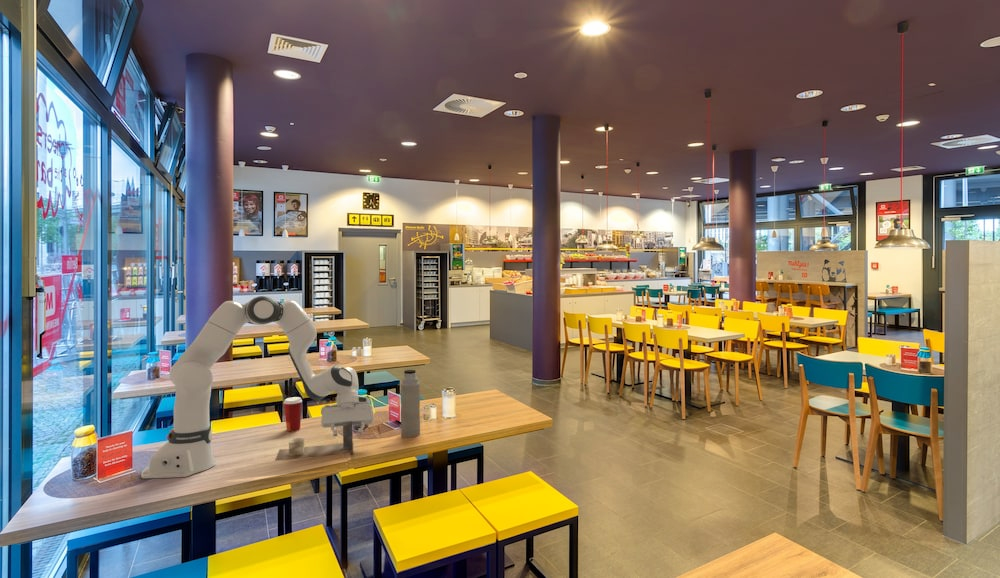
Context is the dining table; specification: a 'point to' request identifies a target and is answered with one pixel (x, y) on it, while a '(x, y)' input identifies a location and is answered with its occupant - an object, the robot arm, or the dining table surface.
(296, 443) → the gray-green cube
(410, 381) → the thermos bottle
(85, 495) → the dining table surface
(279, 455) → the gray l-shaped stand
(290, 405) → the paper cup
